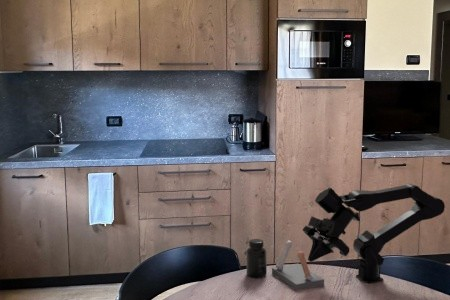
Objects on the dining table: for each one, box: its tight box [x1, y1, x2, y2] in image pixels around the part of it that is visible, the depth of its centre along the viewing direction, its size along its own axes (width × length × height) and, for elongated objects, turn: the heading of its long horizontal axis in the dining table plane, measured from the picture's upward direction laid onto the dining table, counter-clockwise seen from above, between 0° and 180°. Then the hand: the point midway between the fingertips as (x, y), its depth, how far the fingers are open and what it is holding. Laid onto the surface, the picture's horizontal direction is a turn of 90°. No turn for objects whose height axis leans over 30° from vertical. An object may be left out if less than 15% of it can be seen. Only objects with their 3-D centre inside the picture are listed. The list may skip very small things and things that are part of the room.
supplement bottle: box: [245, 238, 268, 279], centre depth 156 cm, size 7×7×12 cm
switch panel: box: [271, 263, 325, 292], centre depth 153 cm, size 10×16×2 cm
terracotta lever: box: [296, 251, 313, 281], centre depth 146 cm, size 2×2×10 cm
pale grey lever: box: [275, 240, 293, 270], centre depth 156 cm, size 2×2×10 cm
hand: (309, 260), depth 147 cm, fingers closed
